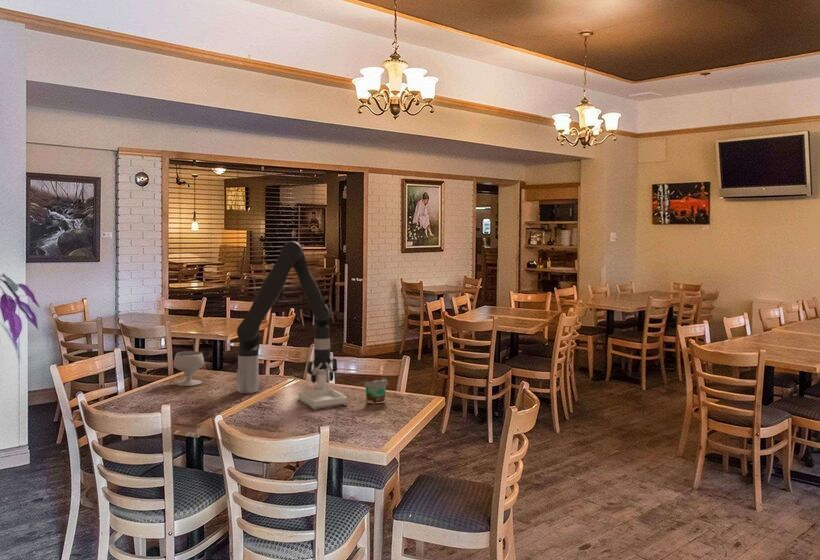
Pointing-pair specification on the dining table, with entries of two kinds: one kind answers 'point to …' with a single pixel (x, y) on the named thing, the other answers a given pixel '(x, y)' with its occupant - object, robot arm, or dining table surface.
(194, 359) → the chalice
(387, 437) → the dining table surface
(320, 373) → the salt shaker
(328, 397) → the tray
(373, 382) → the food container
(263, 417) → the dining table surface
